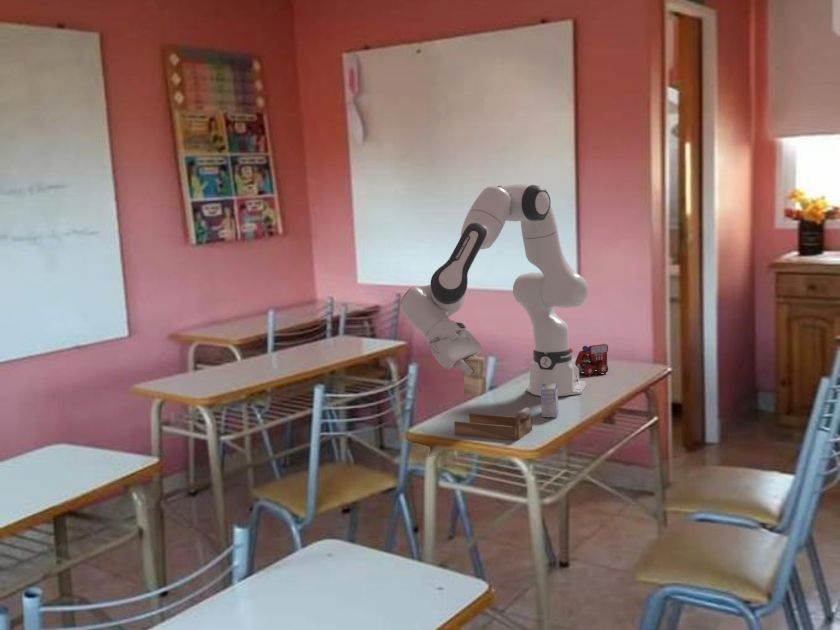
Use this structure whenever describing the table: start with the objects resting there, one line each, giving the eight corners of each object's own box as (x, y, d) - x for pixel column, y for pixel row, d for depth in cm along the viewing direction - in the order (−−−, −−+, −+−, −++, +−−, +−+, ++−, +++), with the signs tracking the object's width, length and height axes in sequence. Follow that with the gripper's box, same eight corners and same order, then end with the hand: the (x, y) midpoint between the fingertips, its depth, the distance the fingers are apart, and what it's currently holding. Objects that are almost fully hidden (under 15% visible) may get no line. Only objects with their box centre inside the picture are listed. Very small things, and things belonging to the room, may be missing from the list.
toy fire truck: (571, 373, 325) (570, 345, 324) (603, 370, 329) (602, 341, 327) (580, 377, 319) (579, 348, 317) (612, 373, 322) (611, 344, 321)
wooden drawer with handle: (470, 424, 263) (469, 401, 262) (534, 430, 254) (533, 405, 253) (454, 434, 254) (453, 409, 253) (520, 440, 245) (519, 414, 244)
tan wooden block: (471, 391, 258) (470, 356, 257) (486, 392, 256) (484, 357, 255) (464, 394, 254) (463, 359, 253) (479, 396, 252) (477, 360, 251)
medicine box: (557, 418, 266) (556, 388, 265) (541, 418, 267) (540, 388, 266) (558, 411, 274) (557, 382, 273) (543, 411, 275) (542, 383, 274)
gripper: (433, 333, 247) (467, 371, 244) (465, 322, 265) (498, 357, 261) (419, 349, 250) (453, 386, 246) (452, 337, 268) (484, 371, 264)
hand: (476, 371), depth 254 cm, fingers closed on tan wooden block, 4 cm apart
